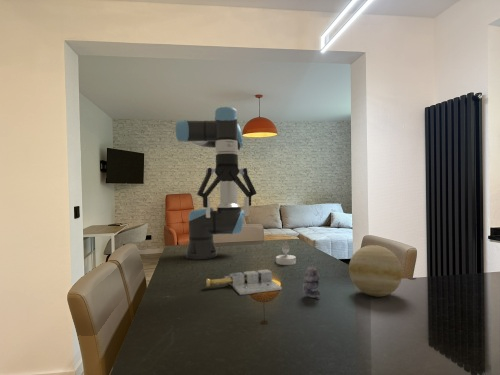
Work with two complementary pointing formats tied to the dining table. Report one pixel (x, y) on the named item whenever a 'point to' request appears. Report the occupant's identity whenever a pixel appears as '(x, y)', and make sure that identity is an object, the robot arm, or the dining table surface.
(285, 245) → the wall hook
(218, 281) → the pin
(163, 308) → the dining table surface
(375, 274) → the decorative ball
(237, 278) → the hinge leaves
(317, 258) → the dining table surface
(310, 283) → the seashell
